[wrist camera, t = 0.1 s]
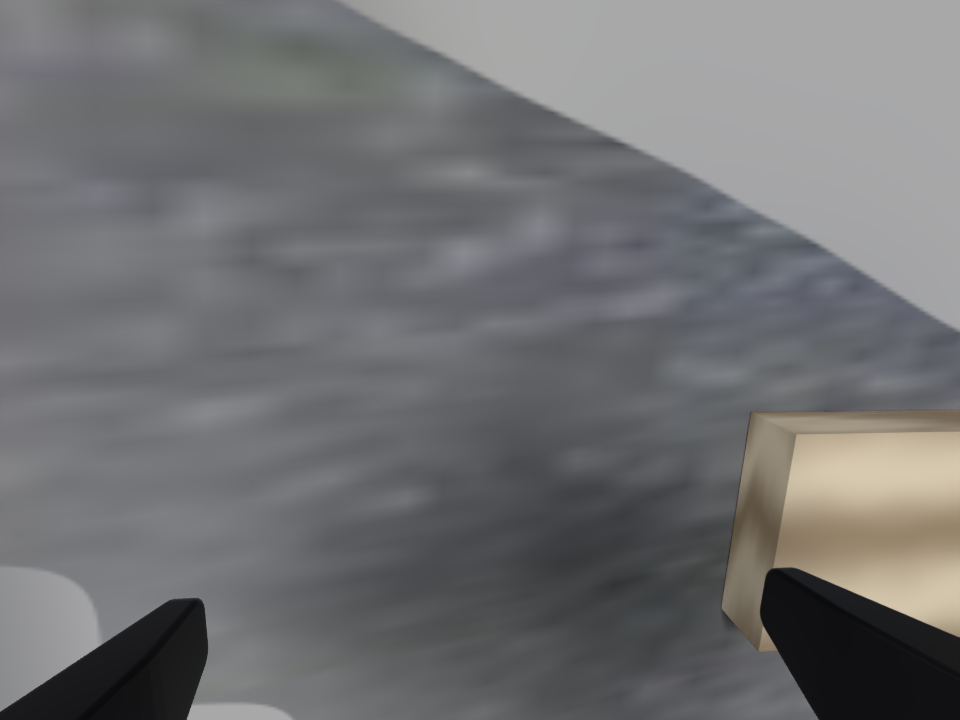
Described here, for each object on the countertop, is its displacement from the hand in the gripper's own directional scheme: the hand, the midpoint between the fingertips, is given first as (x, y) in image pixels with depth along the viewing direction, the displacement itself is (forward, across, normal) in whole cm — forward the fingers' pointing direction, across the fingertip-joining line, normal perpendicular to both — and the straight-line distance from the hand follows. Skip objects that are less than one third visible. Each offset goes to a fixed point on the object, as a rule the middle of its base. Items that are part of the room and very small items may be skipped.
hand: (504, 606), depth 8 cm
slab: (+15, -21, +7) cm, 27 cm away
